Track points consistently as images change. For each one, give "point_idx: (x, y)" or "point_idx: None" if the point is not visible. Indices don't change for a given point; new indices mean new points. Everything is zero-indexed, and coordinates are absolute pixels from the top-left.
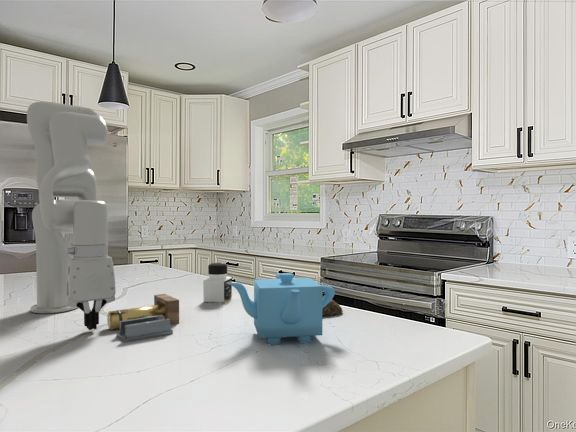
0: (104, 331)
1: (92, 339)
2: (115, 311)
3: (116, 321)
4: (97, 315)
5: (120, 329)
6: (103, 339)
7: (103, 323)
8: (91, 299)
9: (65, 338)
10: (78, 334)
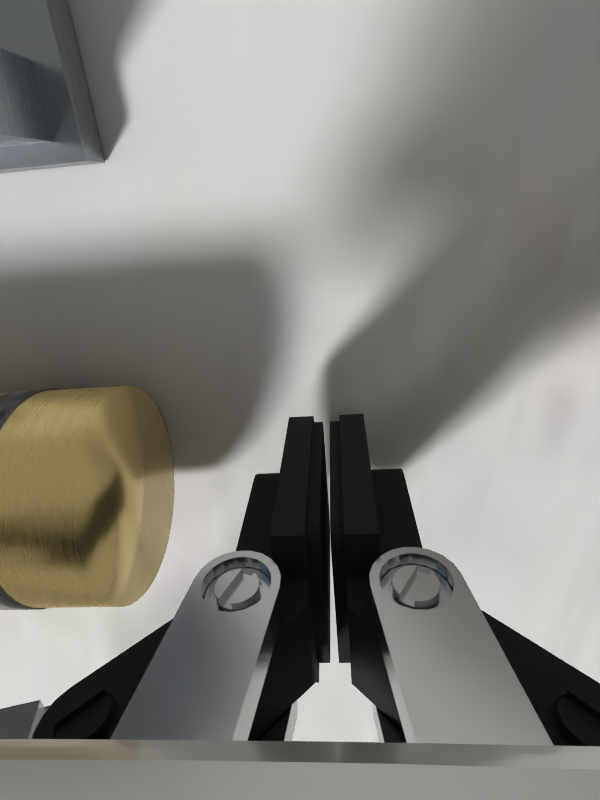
0: (219, 410)
1: (373, 161)
2: (8, 550)
3: (56, 402)
4: (257, 535)
5: (8, 75)
6: (260, 79)
7: None
8: (397, 768)
9: (593, 367)
10: (450, 437)
